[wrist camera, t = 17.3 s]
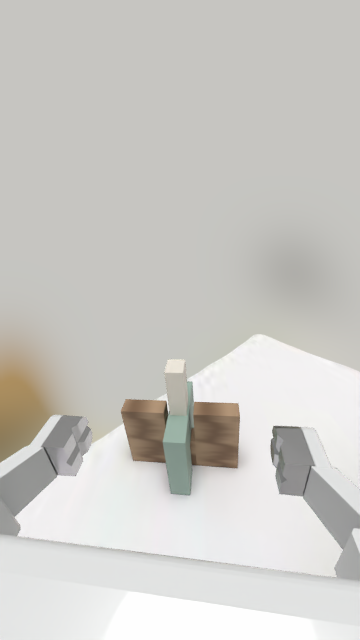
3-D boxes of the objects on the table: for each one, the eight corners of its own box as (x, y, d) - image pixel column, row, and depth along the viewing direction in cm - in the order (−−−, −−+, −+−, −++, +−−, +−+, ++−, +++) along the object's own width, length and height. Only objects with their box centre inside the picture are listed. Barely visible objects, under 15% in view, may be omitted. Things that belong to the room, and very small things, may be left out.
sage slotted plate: (195, 429, 48) (189, 342, 39) (190, 495, 38) (180, 397, 29) (180, 428, 49) (171, 342, 40) (170, 493, 38) (155, 396, 29)
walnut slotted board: (236, 454, 43) (238, 403, 38) (237, 468, 41) (239, 416, 36) (137, 447, 46) (125, 399, 40) (133, 460, 44) (120, 411, 38)
